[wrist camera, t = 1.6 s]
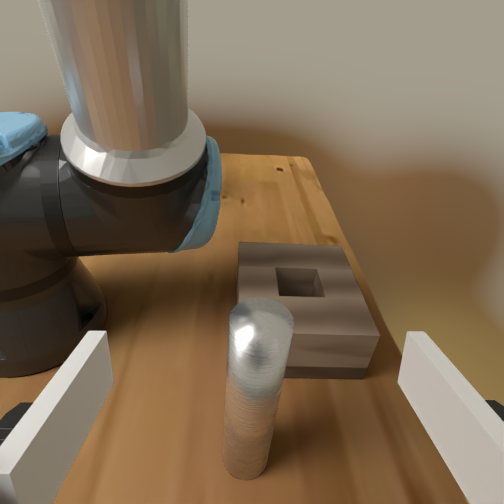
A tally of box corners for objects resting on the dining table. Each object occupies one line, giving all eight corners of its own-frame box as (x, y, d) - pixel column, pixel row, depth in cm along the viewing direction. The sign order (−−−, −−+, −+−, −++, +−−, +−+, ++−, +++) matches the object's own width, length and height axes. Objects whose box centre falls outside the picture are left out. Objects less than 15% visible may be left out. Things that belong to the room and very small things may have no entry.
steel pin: (214, 448, 32) (217, 311, 22) (250, 425, 34) (267, 290, 24) (239, 490, 29) (254, 355, 19) (276, 462, 31) (307, 327, 21)
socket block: (236, 282, 51) (239, 241, 47) (331, 285, 52) (341, 246, 48) (235, 377, 38) (239, 332, 34) (362, 379, 39) (380, 335, 35)
